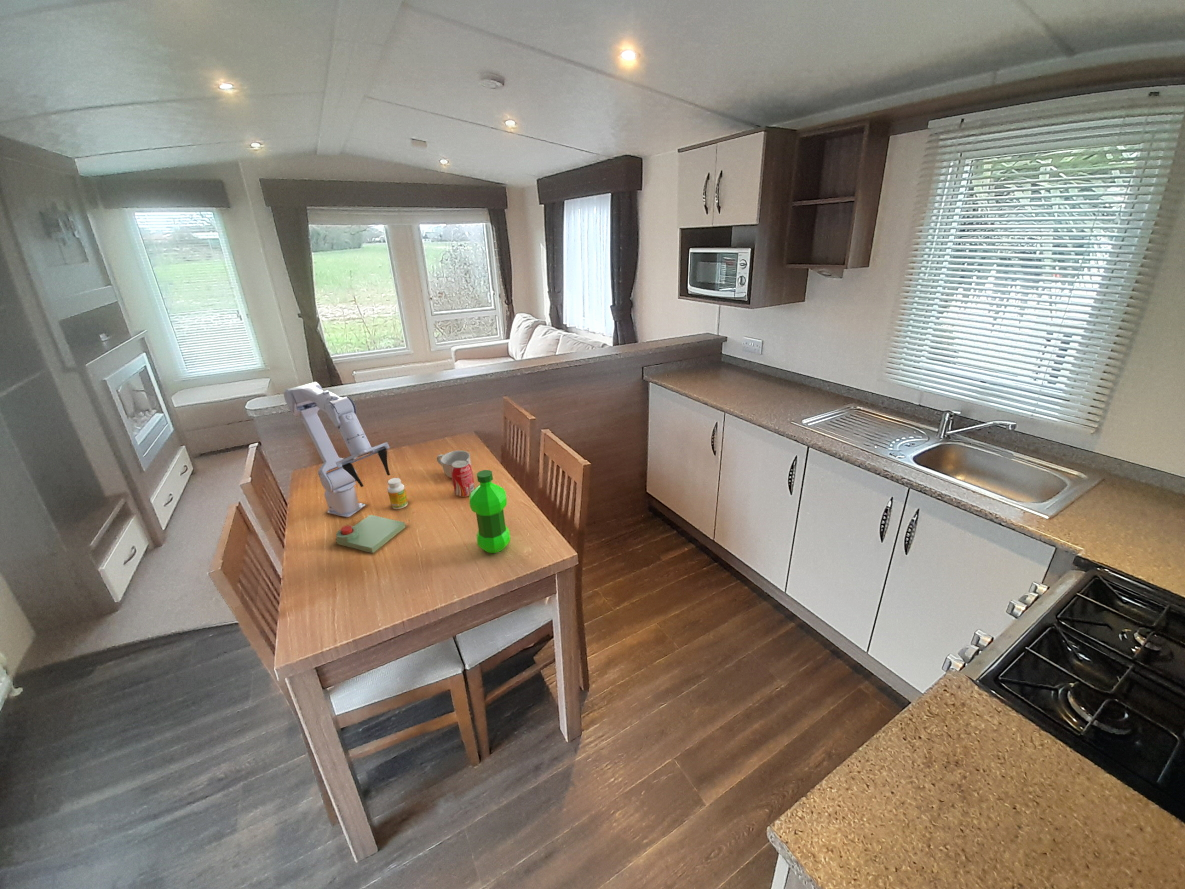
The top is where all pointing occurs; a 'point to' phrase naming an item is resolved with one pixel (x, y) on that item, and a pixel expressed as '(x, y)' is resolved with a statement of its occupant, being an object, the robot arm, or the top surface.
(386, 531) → the scale
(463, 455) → the teacup
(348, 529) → the button
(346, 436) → the robot arm
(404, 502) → the supplement bottle
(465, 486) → the soda can
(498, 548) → the plastic bottle
